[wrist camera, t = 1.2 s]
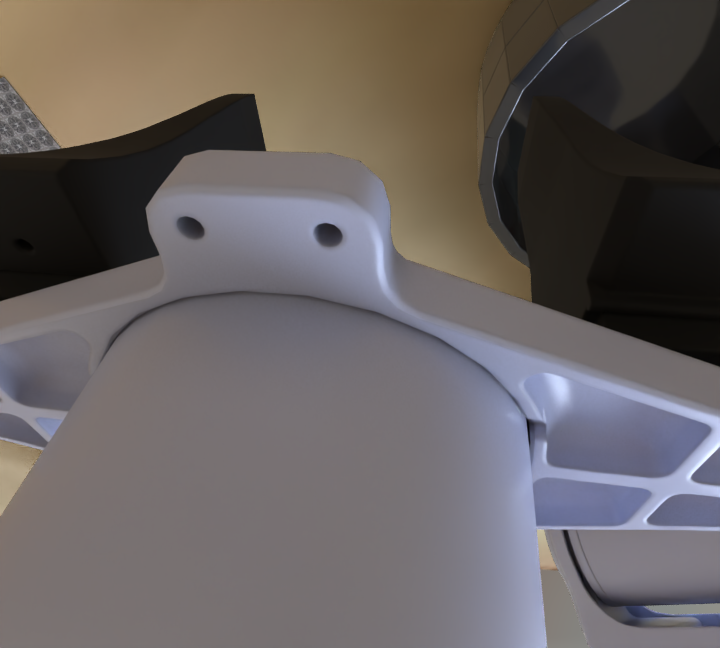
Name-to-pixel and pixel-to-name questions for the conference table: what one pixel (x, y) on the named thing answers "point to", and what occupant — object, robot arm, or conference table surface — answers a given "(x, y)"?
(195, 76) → the conference table surface
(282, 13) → the conference table surface
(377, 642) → the robot arm
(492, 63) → the pot
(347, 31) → the conference table surface
